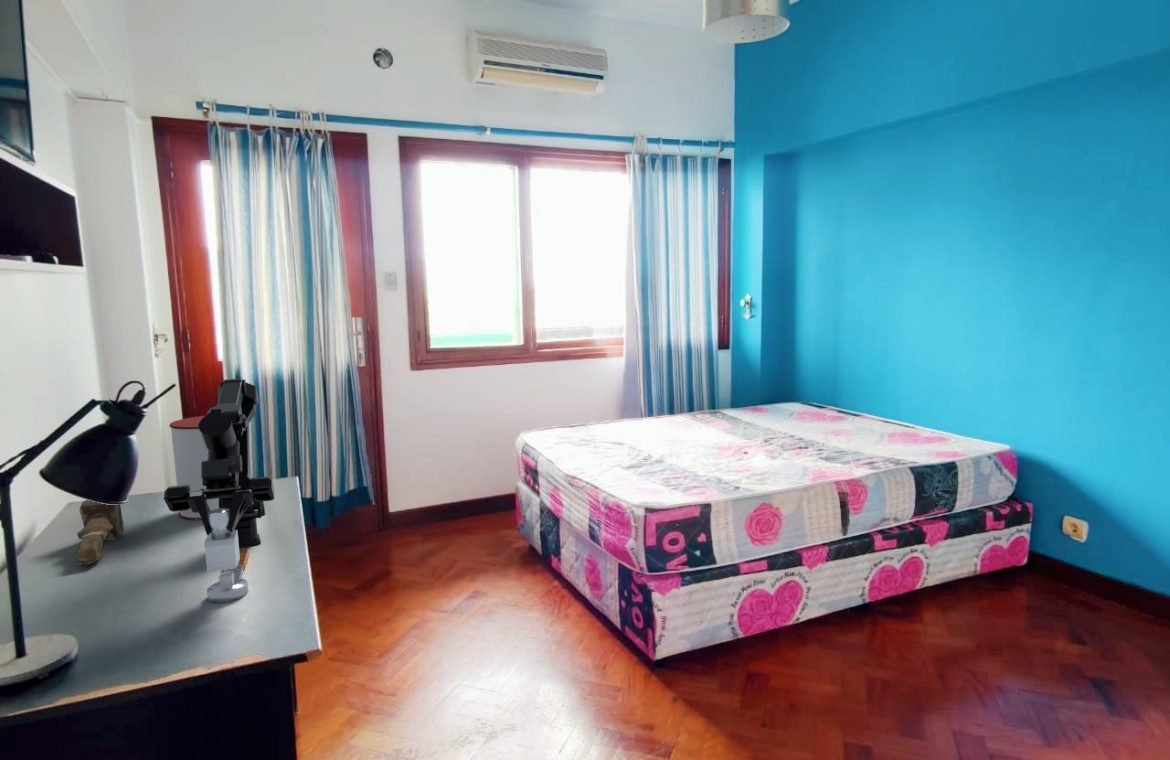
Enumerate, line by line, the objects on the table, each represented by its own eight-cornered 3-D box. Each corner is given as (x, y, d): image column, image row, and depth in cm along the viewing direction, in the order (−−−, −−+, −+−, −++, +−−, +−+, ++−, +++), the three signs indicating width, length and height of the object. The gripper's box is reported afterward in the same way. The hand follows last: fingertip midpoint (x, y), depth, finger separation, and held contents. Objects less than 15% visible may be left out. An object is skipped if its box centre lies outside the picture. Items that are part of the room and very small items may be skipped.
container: (202, 499, 190) (194, 414, 186) (261, 499, 190) (254, 414, 186) (164, 520, 173) (154, 427, 169) (229, 520, 173) (220, 426, 169)
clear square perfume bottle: (211, 562, 130) (206, 508, 129) (239, 558, 132) (235, 505, 130) (207, 572, 125) (201, 517, 124) (236, 568, 127) (231, 513, 126)
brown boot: (82, 600, 150) (64, 564, 140) (90, 522, 164) (74, 484, 154) (121, 592, 153) (106, 556, 144) (126, 516, 167) (112, 478, 158)
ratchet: (222, 561, 146) (220, 541, 146) (257, 556, 149) (256, 537, 148) (205, 606, 125) (202, 584, 124) (246, 600, 128) (244, 578, 127)
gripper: (160, 446, 126) (152, 521, 117) (268, 437, 132) (268, 507, 124) (174, 475, 134) (167, 546, 125) (274, 465, 141) (274, 532, 132)
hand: (219, 532), depth 126 cm, fingers closed on clear square perfume bottle, 4 cm apart
